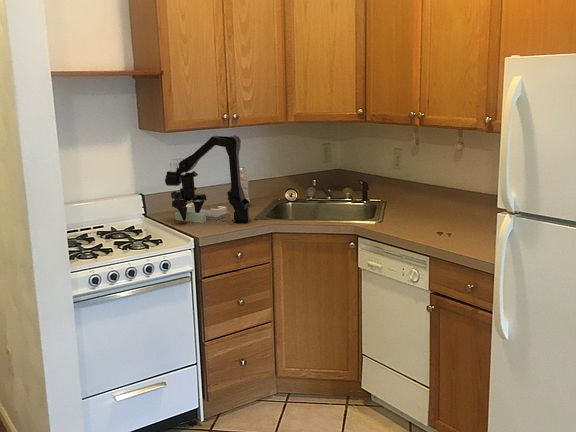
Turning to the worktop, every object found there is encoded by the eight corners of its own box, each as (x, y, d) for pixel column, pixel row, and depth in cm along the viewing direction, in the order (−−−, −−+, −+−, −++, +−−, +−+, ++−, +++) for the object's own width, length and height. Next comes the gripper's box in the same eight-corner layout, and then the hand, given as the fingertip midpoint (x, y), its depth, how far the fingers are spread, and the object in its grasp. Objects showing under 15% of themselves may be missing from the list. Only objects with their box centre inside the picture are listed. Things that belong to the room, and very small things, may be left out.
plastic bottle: (242, 208, 333) (239, 169, 328) (234, 206, 338) (232, 167, 334) (252, 206, 337) (250, 167, 332) (245, 204, 342) (243, 166, 337)
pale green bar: (206, 222, 309) (205, 213, 308) (202, 223, 307) (201, 215, 306) (179, 219, 317) (179, 211, 316) (175, 220, 314) (175, 212, 314)
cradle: (229, 215, 319) (229, 206, 318) (217, 220, 311) (216, 210, 310) (194, 211, 331) (194, 202, 330) (181, 215, 322) (180, 206, 321)
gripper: (188, 181, 320) (190, 212, 323) (161, 188, 304) (164, 221, 308) (206, 182, 314) (208, 214, 317) (180, 190, 299) (182, 223, 302)
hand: (190, 218), depth 311 cm, fingers open, 9 cm apart
